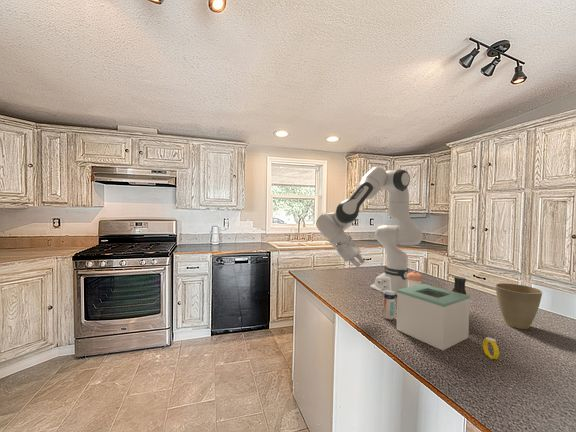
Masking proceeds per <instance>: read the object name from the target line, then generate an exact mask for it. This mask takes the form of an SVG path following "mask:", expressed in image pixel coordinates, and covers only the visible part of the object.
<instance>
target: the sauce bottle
mask: <svg viewBox="0 0 576 432" xmlns="http://www.w3.org/2000/svg"><path fill="white" fill-rule="evenodd" d="M453 280H454V286H453V289H452V290H451V291H454V292H457V293H461V294H465V295H468V294H467V292H466V280H467V279H466V278H465V277H462V276H454V277H453Z"/></svg>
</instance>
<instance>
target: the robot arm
mask: <svg viewBox="0 0 576 432" xmlns="http://www.w3.org/2000/svg"><path fill="white" fill-rule="evenodd" d="M410 181H411V177H410V174H409V173H408V171H407V170H406V169H388V170H385V168H383V167H381V166H374V167H372V168H371V169H370V170H369V171H367V172H366V173H365V174H364V176H363V177H362V178H361V179H360V180H359V182H358V184H357V186H356V189H355V191H354V192H353V193H352V194H351V195H350V197H348V198H347V199H345V200H343V201H341V202H340V203H338V204H337V207H336V209H335V211H334V212H329V213H326V212H323V213H322V214H321V215H320V216H319V217H318V218H317V220H316V221H315V225H316V227H317V229H318V231H319V232H320V234H321V236H323V237H324V238H326V239H327V240H328V243H329V244H330V245H331V246H332V247H333V249H335V251H336V252H337V254H339V256H340V257H341V258H342V259H343V261H344V262H347V263H348V262H350V263H352V264H353V265H354V266H355V267H356V268H359V267H360V266H361V265H362V264H364V263H365V262H366V261H365V259H364V258H363V257H362V255H361V253H362V252H361V249H360V247H358V245H357V244H356V242H354V240H353V238H352V237H351V236H350V235H348V233H346V232H345V230H348V229H349V228H350V227H352V225H353V223H354V221H355V220H356V219H357V217H358V215H359V212H360V208H361V205H362V204H364V202H365V200H371V199H373V198H374V197H375V196H376V195H377V194H378V193H379V192H380V191H388V197H387V198H388V200H387V201H388V202H387V204H388V205H387V208H388V209H387V213H388V216H389V217H390V218H391V219H392V220H396V221H397V222H398V223H399V224H398V225H393V224H391V225H390V224H386V225H385V224H384V225H378V226H377V227H376V229H375V231H374V238H375V240H377V242H379V244H381V245H382V247H383V248H384V250H385V253H386V262H387V263H386V266H384V267H383V269H382V270H384V272H382V273H380V274H379V275H377V276H376V277H375V280H374V283H372V284H370V288H372V289H374V290H376V291H378V292H381V293H384V291H385V290H392V291H394V293H395V296H397V290H399V289H403V288H408V279H407V274H408V273H409V268H408V266H409V265H408V261H409V258H408V257H409V256H408V254H407V253H406V252H405V251H403V250H401V249H400V248H398V246H397V245H403V246H404V245H405V246H414V245H419V244H421V242H422V240H423V237H424V234H423V231H422V229H421V228H420V227H418V226H417V225H416V224H415V223H414V222H413V221H412V218H411V216H410V195H409V189H408V187H409V185H410ZM356 259H357V260H358V261H357V260H356Z"/></svg>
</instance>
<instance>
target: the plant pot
mask: <svg viewBox="0 0 576 432" xmlns="http://www.w3.org/2000/svg"><path fill="white" fill-rule="evenodd" d="M494 287H495V293H496V298H497V301H498V305H499V309H500V312H501V315H502V317H503V320H504V322H505V324H506V325H508V326H509V327H512V328H515V329H519V330H520V329H521V330H528V329H530V327H531V325H532V324H533V322H534V320H535V317H536V315H537V313H538V310H539V307H540V304H541V300H542V297H543V290H541V289H538V288H536V287H533V286H528V285H523V284H518V283H517V284H516V283H508V282H507V283H506V282H505V283H504V282H502V283H501V282H500V283H496V284H494Z"/></svg>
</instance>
